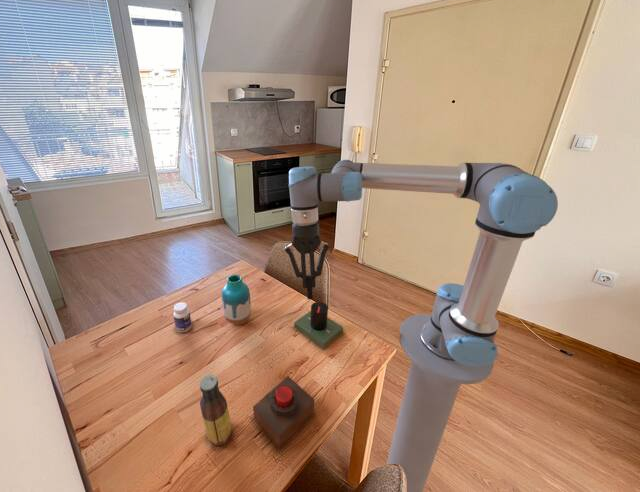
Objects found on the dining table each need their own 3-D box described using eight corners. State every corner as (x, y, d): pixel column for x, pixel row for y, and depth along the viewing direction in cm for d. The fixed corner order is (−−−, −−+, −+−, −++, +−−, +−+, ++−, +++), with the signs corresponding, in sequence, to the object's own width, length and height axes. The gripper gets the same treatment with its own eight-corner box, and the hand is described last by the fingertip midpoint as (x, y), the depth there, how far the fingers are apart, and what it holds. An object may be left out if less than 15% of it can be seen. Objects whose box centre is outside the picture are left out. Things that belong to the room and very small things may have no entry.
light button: (284, 387, 80) (284, 382, 79) (295, 399, 77) (295, 393, 76) (272, 398, 77) (272, 393, 76) (283, 410, 74) (283, 405, 73)
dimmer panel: (342, 332, 107) (343, 327, 106) (323, 349, 100) (323, 343, 99) (313, 313, 116) (313, 308, 115) (294, 327, 109) (294, 321, 108)
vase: (256, 313, 117) (253, 273, 109) (244, 332, 107) (241, 289, 100) (232, 307, 120) (228, 268, 112) (219, 325, 111) (213, 283, 103)
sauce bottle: (232, 420, 79) (225, 368, 71) (231, 445, 73) (224, 392, 65) (207, 423, 78) (198, 371, 70) (204, 449, 72) (194, 395, 64)
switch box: (287, 388, 87) (287, 370, 84) (313, 412, 80) (314, 394, 77) (253, 419, 79) (252, 401, 76) (279, 449, 72) (279, 430, 69)
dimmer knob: (311, 317, 111) (312, 299, 107) (327, 320, 109) (329, 302, 106) (308, 328, 105) (309, 310, 102) (325, 332, 104) (326, 313, 100)
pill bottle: (189, 333, 107) (185, 311, 103) (173, 333, 108) (169, 311, 103) (193, 321, 113) (190, 301, 109) (179, 321, 113) (175, 301, 109)
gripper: (282, 227, 79) (288, 304, 86) (330, 223, 79) (333, 301, 85) (282, 220, 87) (288, 292, 93) (326, 217, 86) (329, 289, 92)
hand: (309, 296), depth 89 cm, fingers closed
